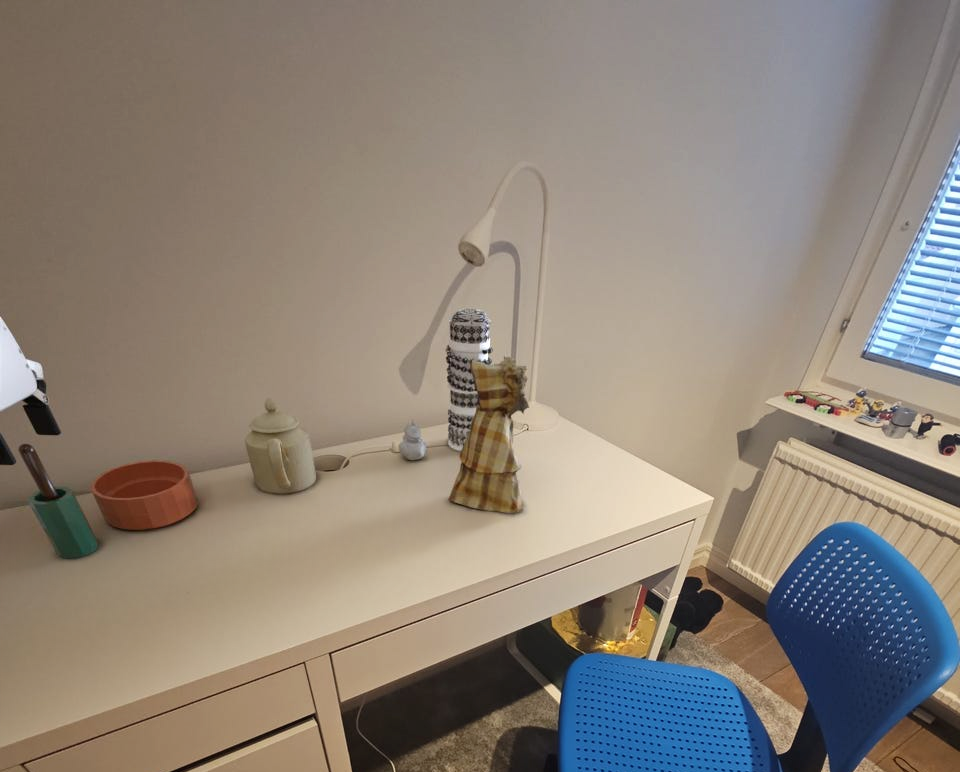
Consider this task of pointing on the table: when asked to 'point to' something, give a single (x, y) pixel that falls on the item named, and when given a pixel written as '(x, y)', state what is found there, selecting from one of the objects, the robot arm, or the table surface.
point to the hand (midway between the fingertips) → (27, 448)
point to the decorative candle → (465, 370)
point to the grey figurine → (412, 443)
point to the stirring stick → (38, 472)
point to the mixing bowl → (144, 494)
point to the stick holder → (64, 523)
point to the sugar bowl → (280, 452)
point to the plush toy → (492, 440)
